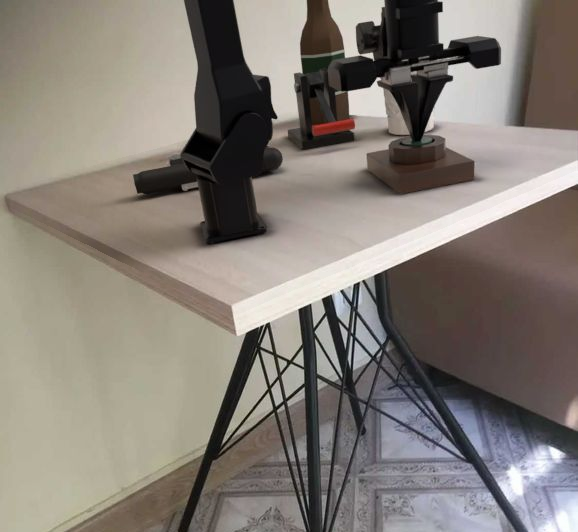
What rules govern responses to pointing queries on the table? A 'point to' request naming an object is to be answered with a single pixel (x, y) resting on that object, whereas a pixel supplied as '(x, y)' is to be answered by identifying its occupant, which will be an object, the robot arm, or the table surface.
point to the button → (417, 142)
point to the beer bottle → (322, 53)
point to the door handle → (188, 174)
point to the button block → (419, 165)
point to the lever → (325, 108)
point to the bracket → (304, 133)
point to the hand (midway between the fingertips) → (416, 140)
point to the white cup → (400, 115)
